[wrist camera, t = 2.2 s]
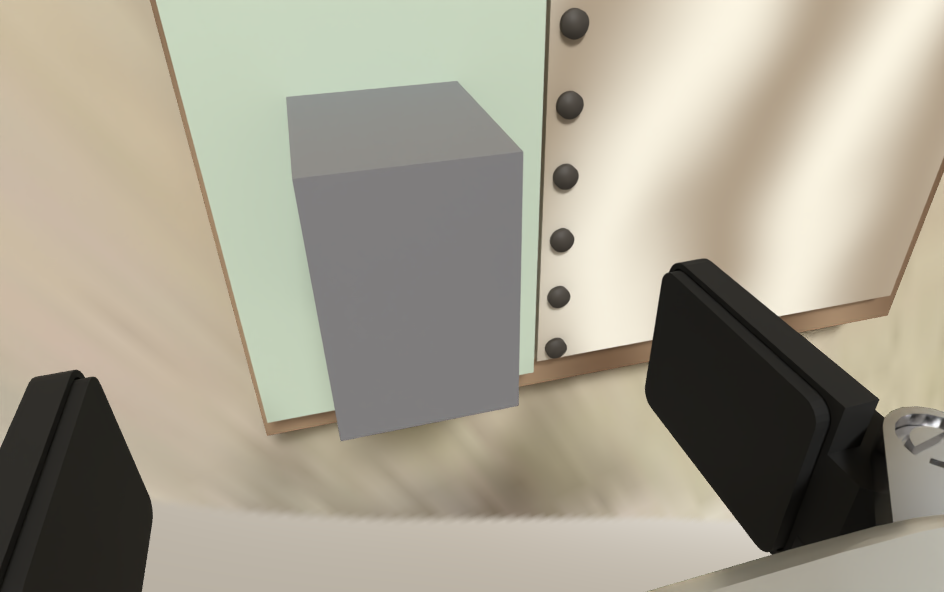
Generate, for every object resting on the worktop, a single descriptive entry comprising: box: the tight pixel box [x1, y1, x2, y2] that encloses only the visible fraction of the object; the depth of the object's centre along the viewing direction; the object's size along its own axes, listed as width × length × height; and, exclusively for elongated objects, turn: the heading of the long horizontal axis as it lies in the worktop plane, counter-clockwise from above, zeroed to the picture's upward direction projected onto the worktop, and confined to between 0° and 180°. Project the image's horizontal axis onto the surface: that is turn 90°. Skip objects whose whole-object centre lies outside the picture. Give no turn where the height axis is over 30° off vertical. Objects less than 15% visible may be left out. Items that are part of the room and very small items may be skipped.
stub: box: [156, 0, 546, 441], centre depth 15 cm, size 8×13×6 cm, turn 2°
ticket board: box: [150, 0, 944, 436], centre depth 20 cm, size 24×16×3 cm, turn 92°
